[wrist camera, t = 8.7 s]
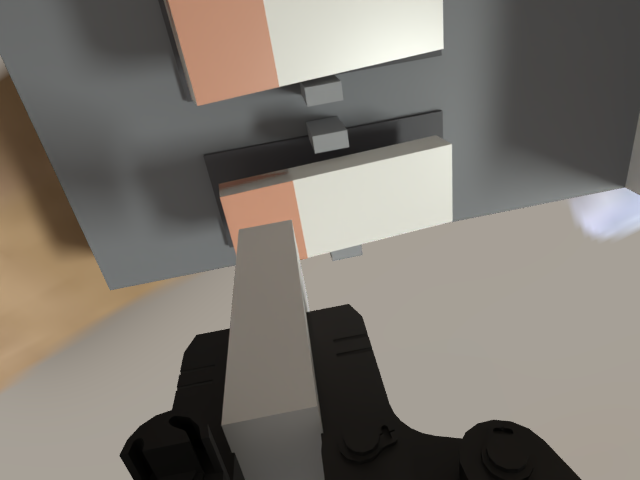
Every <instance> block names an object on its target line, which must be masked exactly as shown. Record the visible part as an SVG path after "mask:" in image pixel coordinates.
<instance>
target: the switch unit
mask: <svg viewBox="0 0 640 480" xmlns="http://www.w3.org/2000/svg"><path fill="white" fill-rule="evenodd" d="M443 43H444V49H440V50H436V51H432V52H427V53H423V54H419V55H414V56H410V57H406V58H401V59H397V60H393V61H389V62H384V63H380V64H376V65H371V66H367V67H363V68H358V69H354V70H350V71H346V72H341V73H337V74H333V75H328V76H324V77H320V78H315V79H311V80H307V81H303V82H298V83H294V84H290V85H285V86H281V87H277V88H273V89H269V90H264V91H260V92H256V93H251V94H247V95H243V96H239V97H234V98H230V99H226V100H221V101H217V102H213V103H208V104H204V105H200V106H197V105H196V104H195V102H194V101H193V100H192V98H191V95H190V91H189V88H188V84H187V81H186V77H185V74H184V70H183V67H182V63H181V60H180V56H179V53H178V49H177V46H176V42H175V39H174V35H173V31H172V28H171V24H170V21H169V17H168V14H167V10H166V7H165V3H164V0H0V55H1V57H2V59H3V61H4V64H5V66H6V68H7V70H8V72H9V74H10V77H11V79H12V81H13V83H14V85H15V87H16V89H17V92H18V94H19V96H20V98H21V100H22V102H23V104H24V107H25V109H26V111H27V113H28V115H29V117H30V119H31V122H32V124H33V126H34V128H35V130H36V132H37V134H38V137H39V139H40V141H41V143H42V145H43V147H44V149H45V152H46V154H47V156H48V158H49V160H50V162H51V164H52V167H53V169H54V171H55V173H56V175H57V177H58V179H59V182H60V184H61V186H62V188H63V190H64V192H65V195H66V197H67V199H68V201H69V203H70V205H71V207H72V210H73V212H74V214H75V216H76V218H77V220H78V222H79V225H80V227H81V229H82V231H83V233H84V235H85V237H86V240H87V242H88V244H89V246H90V248H91V250H92V252H93V255H94V257H95V259H96V261H97V263H98V265H99V267H100V270H101V272H102V274H103V276H104V278H105V280H106V282H107V285H108V287H109V289H110V290H114V289H119V288H124V287H129V286H134V285H139V284H144V283H149V282H154V281H159V280H164V279H169V278H174V277H179V276H184V275H189V274H194V273H199V272H204V271H209V270H214V269H219V268H224V267H229V266H234V265H236V253H235V249H234V246H233V242H232V239H231V235H230V232H229V228H228V224H227V221H226V217H225V214H224V210H223V207H222V203H221V200H220V194H219V184H221V183H225V182H230V181H234V180H239V179H243V178H247V177H252V176H256V175H261V174H265V173H270V172H274V171H279V170H283V169H288V168H293V167H297V166H302V165H306V164H311V163H315V162H319V161H324V160H328V159H333V158H337V157H342V156H346V155H351V154H355V153H359V152H364V151H368V150H373V149H377V148H382V147H386V146H391V145H395V144H399V143H404V142H408V141H413V140H417V139H422V138H426V137H431V136H435V135H437V136H439V137H440V138H442V139H444V140H446V141H447V142H449V143H451V144H452V213H453V221H452V222H454V221H459V220H464V219H469V218H474V217H479V216H484V215H489V214H494V213H499V212H504V211H509V210H514V209H519V208H524V207H529V206H534V205H539V204H544V203H549V202H554V201H559V200H564V199H569V198H574V197H579V196H584V195H589V194H594V193H599V192H604V191H609V190H614V189H619V188H627V189H629V190H631V191H633V192H635V193H637V194H639V195H640V0H443ZM448 223H449V222H448ZM330 254H331V257H332V261H335V260H340V259H345V258H350V257H355V256H360V255H362V247H361V245H357V246H353V247H349V248H345V249H341V250H337V251H333V252H330Z"/></svg>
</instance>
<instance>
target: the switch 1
mask: <svg viewBox="0 0 640 480" xmlns="http://www.w3.org/2000/svg"><path fill="white" fill-rule="evenodd" d="M164 3H165V7H166V10H167V14H168V17H169V21H170V24H171V28H172V31H173V35H174V39H175V42H176V46H177V49H178V53H179V56H180V60H181V63H182V67H183V70H184V74H185V77H186V81H187V84H188V88H189V91H190V95H191V98H192V100H193V101H194V102H195V104H196V105H197V106H200V105H204V104H208V103H213V102H217V101H221V100H226V99H230V98H234V97H239V96H243V95H247V94H251V93H256V92H260V91H264V90H269V89H273V88H277V87H281V86H285V85H290V84H294V83H298V82H303V81H307V80H311V79H315V78H320V77H324V76H328V75H333V74H337V73H341V72H346V71H350V70H354V69H358V68H363V67H367V66H371V65H376V64H380V63H384V62H389V61H393V60H397V59H401V58H406V57H410V56H414V55H419V54H423V53H427V52H432V51H436V50H440V49H444V43H443V0H164Z"/></svg>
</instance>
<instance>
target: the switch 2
mask: <svg viewBox="0 0 640 480" xmlns="http://www.w3.org/2000/svg"><path fill="white" fill-rule="evenodd" d="M219 194H220V200H221V203H222V207H223V210H224V214H225V217H226V221H227V224H228V228H229V232H230V235H231V239H232V242H233V246H234V249H235V253H236V255H237V244H238V233H239V229H244V228H250V227H255V226H260V225H266V224H271V223H276V222H282V221H287V220H292V223H293V228H294V233H295V238H296V243H297V248H298V253H299V258H300V260H302V259H306V258H309V257H313V256H317V255H321V254H325V253H329V252H333V251H337V250H341V249H345V248H349V247H353V246H357V245H361V244H364V243H369V242H373V241H377V240H381V239H384V238H389V237H392V236H396V235H400V234H404V233H408V232H412V231H416V230H420V229H424V228H428V227H432V226H436V225H440V224H444V223H448V222H452V221H453V213H452V144H451V143H449V142H447V141H446V140H444V139H442V138H440V137H439V136H437V135H435V136H431V137H426V138H422V139H417V140H413V141H408V142H404V143H399V144H395V145H391V146H386V147H382V148H377V149H373V150H368V151H364V152H359V153H355V154H351V155H346V156H342V157H337V158H333V159H328V160H324V161H319V162H315V163H311V164H306V165H302V166H297V167H293V168H288V169H283V170H279V171H274V172H270V173H265V174H261V175H256V176H252V177H247V178H243V179H239V180H234V181H230V182H225V183H221V184H219Z"/></svg>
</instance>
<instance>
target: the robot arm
mask: <svg viewBox="0 0 640 480" xmlns="http://www.w3.org/2000/svg"><path fill="white" fill-rule="evenodd" d="M180 372H181V375H179V380H178V384H177V391H176V394H175V399H174V404H173V408H172V410H171V411H168V412H165V413H162V414H159V415H156V416H155V417H153V418H151V419H150V420H148V421H147V422H145V423H144V424H142V425H141V426H140V427H139V428H138V429H137V430H136V431H135V432H134V433H133V434H132V436H130V437H129V439H128V440H127V442H126V443H125V445H124V447H123V450H122V451H121V453H120V457H121V459H122V461H123V462H124V464H125V466H126V467H127V469H128V471H129V472H130V474H131V476H132V478H133V479H134V480H581V479H580V478H579V477H578V476H577V475H576V473H575V472H574V471H573V470H572V469H571V468H570V467H569V466H568V465H567V464H566V463H565V462H564V461H563V460H562V459H561V458H560V457H559V456H558V455H557V454H556V453H555V451H554V450H553V449H552V448H551V447H550V446H549V445H548V444H547V443H546V442H545V441H544V440H543V439H541V438H540V437H539V436H538V435H536V434H535V433H534V432H532V431H531V430H530V429H529V428H526V427H523V426H521V425H519V424H516V423H514V422H510V421H500V420H491V421H487V422H483V423H478V424H476V425H475V426H474V427H472V428H471V429H470V430H468V431H467V432H466V433H465V435H464V437H463V439H461V438H451V437H441V436H433V435H428V434H424V433H421V432H418V431H416V430H414V429H411V428H410V427H408V426H407V425H406V424H404V423H403V422H401V421H400V419H399V418H398V417H397V416H396V415H395V414H394V412H393V410H392V408H391V406H390V404H389V401H388V398H387V394H386V391H385V388H384V385H383V382H382V378H381V375H380V372H379V369H378V366H377V363H376V359H375V356H374V353H373V351H372V346H371V343H370V340H369V337H368V335H367V330H366V327H365V324H364V321H363V318H362V316H361V315H360V314H359V313H358V312H357V311H356V310H354V309H353V307H351V306H350V305H349V304H347V305H341V306H336V307H332V308H326V309H321V310H316V311H310V310H309V304H308V297H307V292H306V288H305V283H304V278H303V273H302V268H301V263H300V258H299V253H298V248H297V243H296V238H295V233H294V228H293V223H292V220H287V221H282V222H276V223H271V224H266V225H260V226H255V227H250V228H244V229H239V233H238V244H237V255H236V266H235V278H234V289H233V300H232V312H231V322H230V329H225V330H220V331H215V332H210V333H204V334H199V335H196V337H195V338H194V339H193V341H192V342H191V344H190V345H189V346H188V348H187V349H186V351H185V352H184V356H183V360H182V365H181V370H180Z"/></svg>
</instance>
